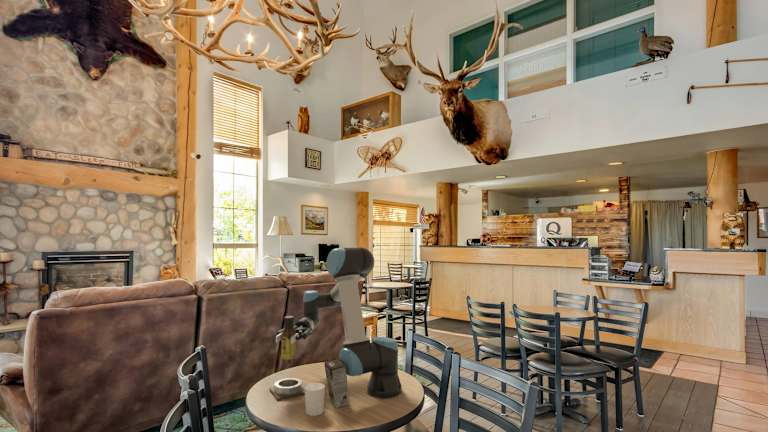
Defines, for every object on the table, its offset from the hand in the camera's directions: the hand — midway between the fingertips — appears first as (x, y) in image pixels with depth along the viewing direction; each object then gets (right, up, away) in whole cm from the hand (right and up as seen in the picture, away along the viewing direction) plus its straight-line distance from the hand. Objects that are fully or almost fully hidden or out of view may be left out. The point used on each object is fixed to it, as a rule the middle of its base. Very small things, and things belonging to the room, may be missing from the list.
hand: (284, 339), depth 175 cm
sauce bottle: (+1, -11, +5) cm, 12 cm away
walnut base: (+1, -24, +4) cm, 24 cm away
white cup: (+16, -24, -15) cm, 32 cm away
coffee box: (+24, -24, -6) cm, 35 cm away
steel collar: (+1, -24, +4) cm, 24 cm away
